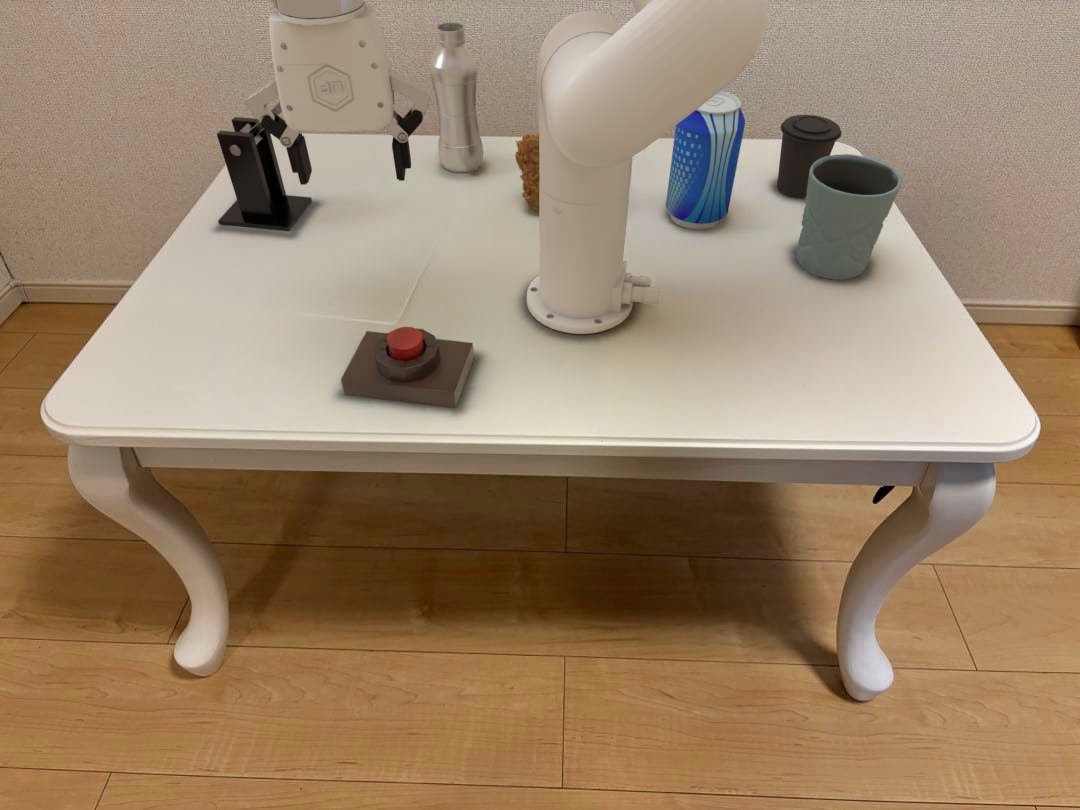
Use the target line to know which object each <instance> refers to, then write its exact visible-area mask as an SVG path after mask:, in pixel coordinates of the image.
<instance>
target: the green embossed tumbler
mask: <svg viewBox="0 0 1080 810" xmlns="http://www.w3.org/2000/svg"><path fill="white" fill-rule="evenodd" d="M902 183H903V180H902V177H901V175H900V173H899V171H898V170H896V169H895V168H894V167H892V166H891V165H890V164H888V163H886V162H884V161H882V160H879V159H876V158H874V157H873V158H872V157H867V156H863V155H858V154H851V153H849V154H848V153H844V154H843V153H842V154H832V155H831V154H830V156H826V157H823V158H821V159H819V160H817V161H816V162H814V163H813V165H812V166H811V168H810V171H809V179H808V186H807V195H806V198H804V202H805V206H804V209H803V214H802V219H801V226H802V228H801V229H800V230H801V231H800V233H799V237H798V238H799V239H798V244H797V249H796V260H797V263H798V265H799V266H800V267H801V268H802V269H804V270H805V271H807V272H808V273H809V274H811V275H814V276H816V277H820V278H823V279H826V280H833V281H844V280H850V279H853V278H856V277H858V276H859V275H861V274H863V272H864V271H865V270H866V267H867V265H868V263H869V261H870V258H871V256H872V252H873V249H874V248H875V245H876V244H877V241H878V240H879V237H880V234H881V232H882V230H883V228H884V222H885V220H886V218H888V215H889V213H890V211H891V208H892V206H893V204H894V201H895V200H896V198H897V196H898V193H899V192H900V189H901V186H902Z"/></svg>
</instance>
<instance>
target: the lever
mask: <svg viewBox="0 0 1080 810" xmlns="http://www.w3.org/2000/svg"><path fill="white" fill-rule="evenodd" d="M270 110H271V111H272V112H274V113H275V114H276V115H278V116H279V115H281V114H283V113H282V109H281V105H280V101H279V102H277V103H276V104H275V105H273V107H272V108H271V109H270ZM263 130H264V128H263V127H262V126H261V122H260V121H259V122H258V123H257V124H256V125H255V126H254V127H252V126H251V125H250V124H249V123H248V124H247V125H246V126H245V127H244V128H243V129H242V130H240V131H239V132H243V133H253V135H254V139H255V143H256V145H257V144H258V143H259V142H260V141H261V140H262V139H263V138H262V137H261V135H260V134H259V133H260V132H262V131H263Z"/></svg>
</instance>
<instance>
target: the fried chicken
mask: <svg viewBox="0 0 1080 810" xmlns="http://www.w3.org/2000/svg"><path fill="white" fill-rule="evenodd" d="M515 144H516V148H517V151H515V155H514V157H515V162H516V164H517V166H518V168H519V170H520V171H521V174H520V175H519V178H520V179H521V181H523V182H522V185H523V186H522V188H523V189H522V190H523V192H522V194H521V196H523V197H522V198H523V199H524V201H525V202H526V203H527V204H528V206H529V207H530V208H531V209H534V210H535V211H536V212H537V213H539V181H540V173H539V133H538V134H536V135H535V134H532V133H525V134H524V135H522V138H521V140H520V139H519V140H515Z"/></svg>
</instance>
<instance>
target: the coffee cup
mask: <svg viewBox="0 0 1080 810" xmlns="http://www.w3.org/2000/svg"><path fill="white" fill-rule="evenodd" d="M780 131H781V133H782V136H781V146H780V155H779V163H778V164H779V165H778V173H777V181H776V183H777V184H776V189H777V191H778V192H779V193H780V194H781V195H783V196H786V197H789V198H793V199H806V195H807V186H808V179H809V171H810V168H811V166H812V165H813V163H814V162H816V161H817V160H819V159H821V158H823V157H826V156H831V153H832V151H833V149H834V146H835V144H836V141H838V140H839V139H840V138H841V137H842V130H841V127H840V126H839V124H838V123H836V121H833V120H832V119H829V118H827V117H825V116H820V115H814V114H797V115H792V116H789V117H787V118H785V120H784V121H782V122H781V124H780Z"/></svg>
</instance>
